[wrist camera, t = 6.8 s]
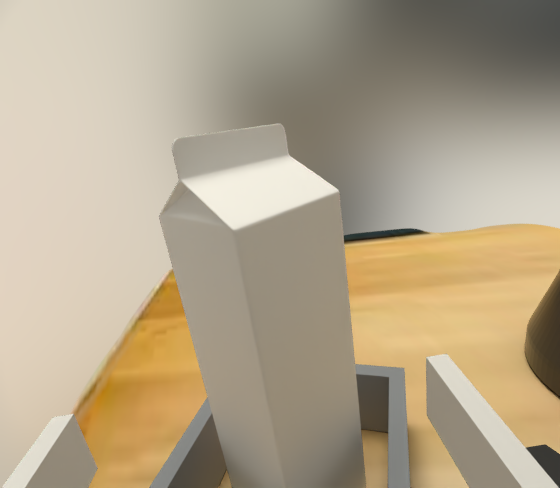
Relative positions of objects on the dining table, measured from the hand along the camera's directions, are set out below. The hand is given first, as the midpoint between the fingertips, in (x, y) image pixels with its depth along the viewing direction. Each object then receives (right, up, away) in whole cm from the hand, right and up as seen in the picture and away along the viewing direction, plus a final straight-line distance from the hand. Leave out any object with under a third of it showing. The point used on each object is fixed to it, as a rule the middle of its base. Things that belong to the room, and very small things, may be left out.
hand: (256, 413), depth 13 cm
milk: (+2, -10, +9) cm, 13 cm away
